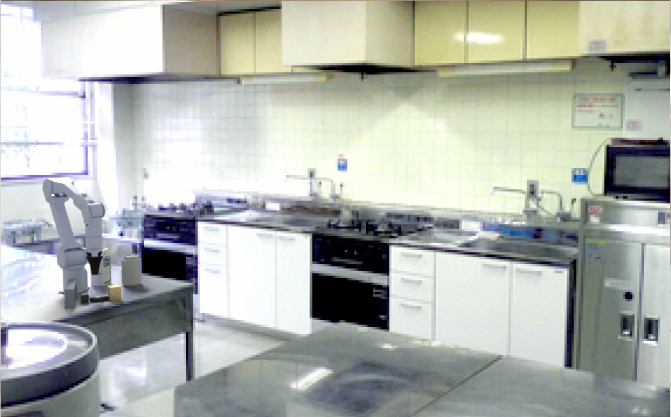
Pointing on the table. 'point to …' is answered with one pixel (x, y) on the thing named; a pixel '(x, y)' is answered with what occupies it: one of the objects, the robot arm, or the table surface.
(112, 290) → the plug
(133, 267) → the can
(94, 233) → the robot arm
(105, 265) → the syrup box
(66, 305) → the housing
